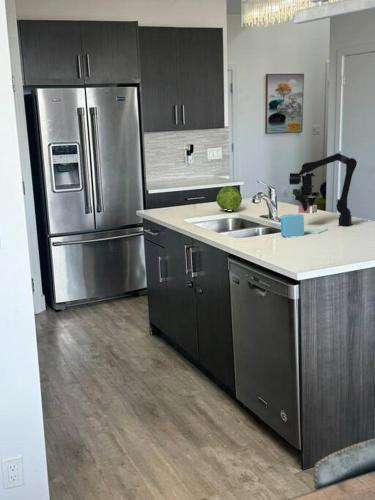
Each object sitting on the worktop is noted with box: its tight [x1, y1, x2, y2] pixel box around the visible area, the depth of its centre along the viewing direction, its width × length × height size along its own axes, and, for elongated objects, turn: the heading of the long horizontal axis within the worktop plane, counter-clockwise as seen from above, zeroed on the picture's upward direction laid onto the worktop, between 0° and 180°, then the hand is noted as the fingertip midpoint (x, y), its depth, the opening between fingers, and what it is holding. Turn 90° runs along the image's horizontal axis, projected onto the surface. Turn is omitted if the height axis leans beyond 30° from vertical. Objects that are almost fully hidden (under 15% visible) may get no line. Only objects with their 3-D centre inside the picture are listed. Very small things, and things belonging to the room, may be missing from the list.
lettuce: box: [216, 185, 243, 211], centre depth 431 cm, size 18×23×19 cm
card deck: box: [298, 204, 318, 214], centre depth 356 cm, size 6×9×4 cm, turn 49°
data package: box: [280, 213, 305, 238], centre depth 332 cm, size 12×4×12 cm, turn 105°
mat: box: [304, 226, 329, 235], centre depth 343 cm, size 14×12×1 cm
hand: (307, 210), depth 356 cm, fingers closed on card deck, 6 cm apart
